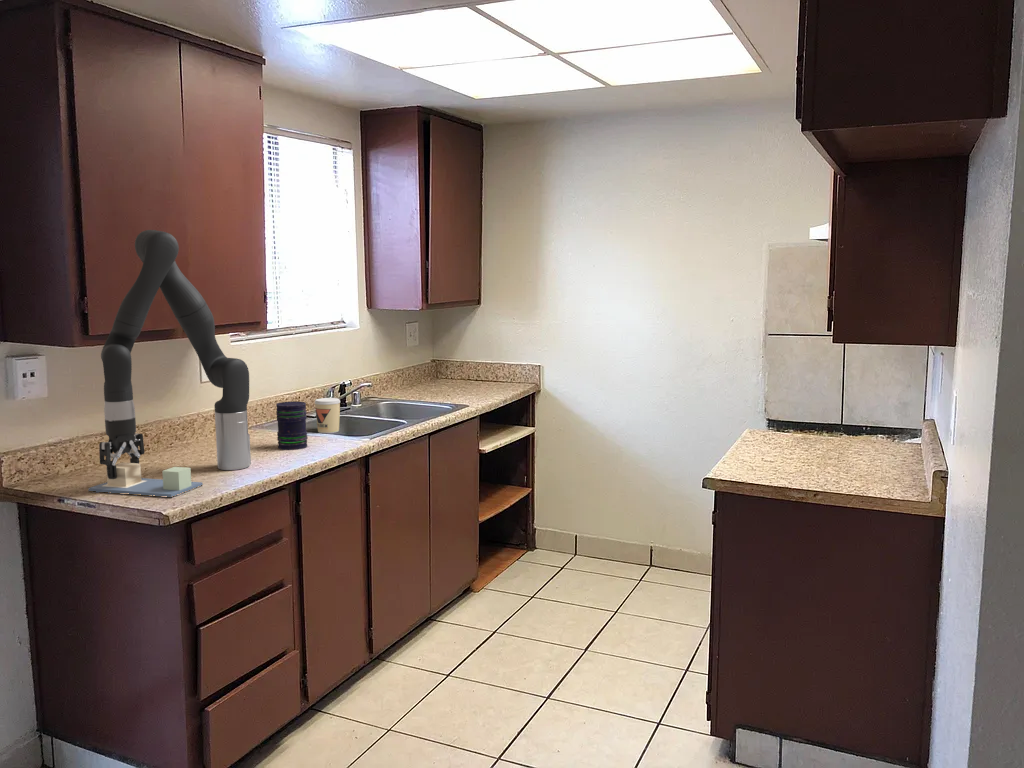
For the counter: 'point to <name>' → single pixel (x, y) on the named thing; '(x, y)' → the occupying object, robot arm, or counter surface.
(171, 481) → the sage block
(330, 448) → the counter surface
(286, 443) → the storage jar
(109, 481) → the maple block
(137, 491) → the board
